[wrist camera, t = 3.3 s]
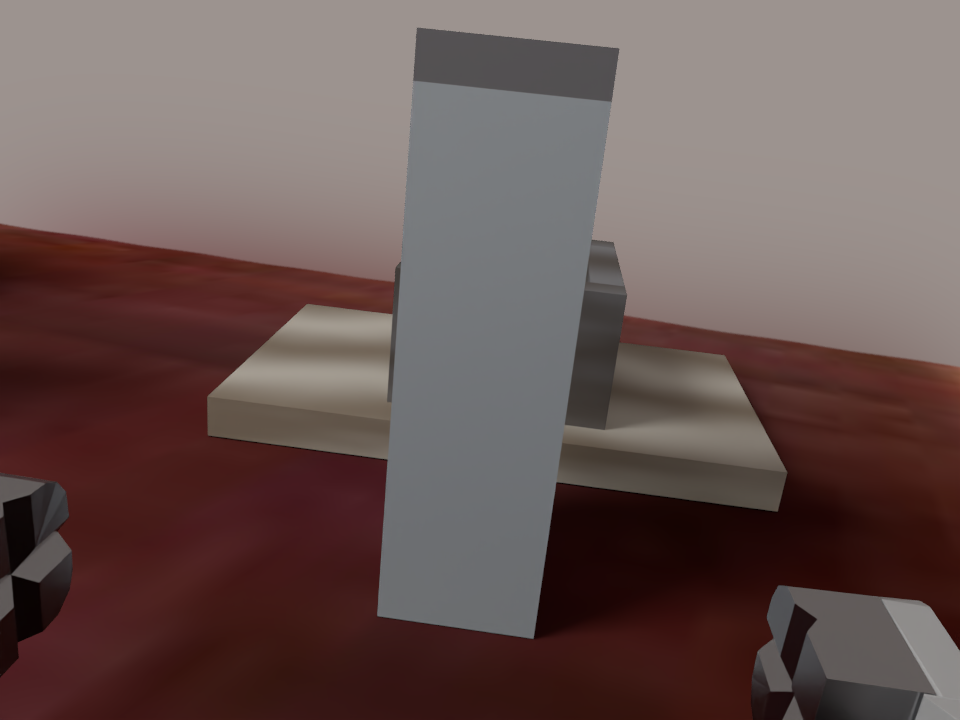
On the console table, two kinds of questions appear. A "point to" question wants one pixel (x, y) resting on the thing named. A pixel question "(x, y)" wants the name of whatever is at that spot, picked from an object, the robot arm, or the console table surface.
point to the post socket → (590, 411)
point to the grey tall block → (488, 320)
